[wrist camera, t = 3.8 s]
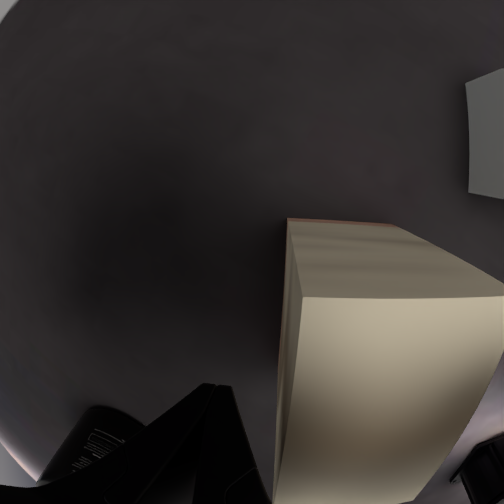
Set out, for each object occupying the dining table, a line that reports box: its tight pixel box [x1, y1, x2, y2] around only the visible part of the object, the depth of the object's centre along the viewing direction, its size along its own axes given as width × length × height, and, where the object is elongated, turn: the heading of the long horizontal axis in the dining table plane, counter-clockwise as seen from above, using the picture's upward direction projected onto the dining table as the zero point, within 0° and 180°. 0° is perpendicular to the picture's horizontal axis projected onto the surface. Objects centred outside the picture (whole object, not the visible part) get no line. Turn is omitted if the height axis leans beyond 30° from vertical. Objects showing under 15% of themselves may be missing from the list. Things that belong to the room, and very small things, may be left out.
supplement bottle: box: [36, 408, 144, 487], centre depth 13 cm, size 7×7×12 cm
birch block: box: [272, 218, 504, 504], centre depth 10 cm, size 8×5×9 cm, turn 179°
